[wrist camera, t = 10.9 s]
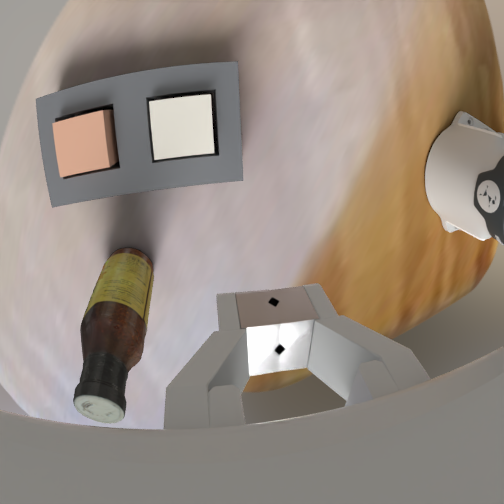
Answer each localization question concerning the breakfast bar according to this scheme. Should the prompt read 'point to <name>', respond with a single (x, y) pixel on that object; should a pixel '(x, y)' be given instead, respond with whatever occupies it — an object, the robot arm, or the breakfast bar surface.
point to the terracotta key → (86, 142)
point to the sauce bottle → (113, 334)
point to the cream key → (182, 126)
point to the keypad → (144, 132)
